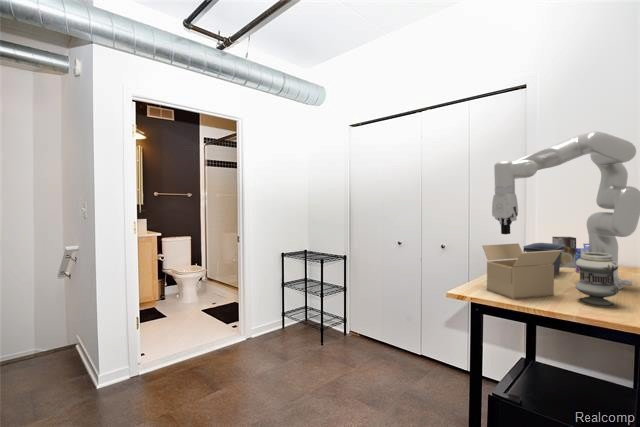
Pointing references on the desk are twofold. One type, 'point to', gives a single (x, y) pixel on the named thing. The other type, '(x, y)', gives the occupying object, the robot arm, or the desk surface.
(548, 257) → the front flap
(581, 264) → the apothecary jar
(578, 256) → the ink cartridge box
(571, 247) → the coffee box
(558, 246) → the storage bin
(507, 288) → the carton
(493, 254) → the back flap
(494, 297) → the desk surface
